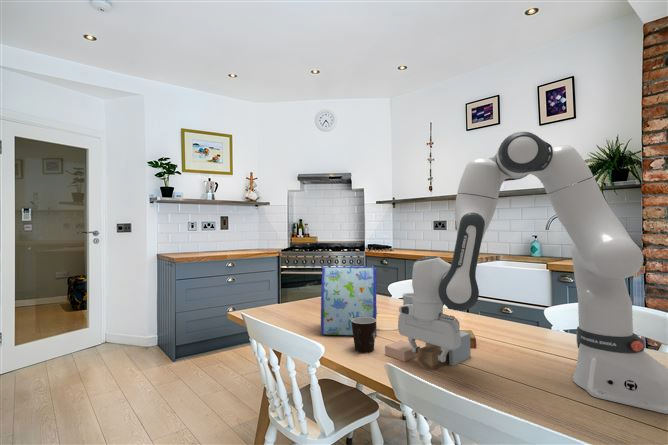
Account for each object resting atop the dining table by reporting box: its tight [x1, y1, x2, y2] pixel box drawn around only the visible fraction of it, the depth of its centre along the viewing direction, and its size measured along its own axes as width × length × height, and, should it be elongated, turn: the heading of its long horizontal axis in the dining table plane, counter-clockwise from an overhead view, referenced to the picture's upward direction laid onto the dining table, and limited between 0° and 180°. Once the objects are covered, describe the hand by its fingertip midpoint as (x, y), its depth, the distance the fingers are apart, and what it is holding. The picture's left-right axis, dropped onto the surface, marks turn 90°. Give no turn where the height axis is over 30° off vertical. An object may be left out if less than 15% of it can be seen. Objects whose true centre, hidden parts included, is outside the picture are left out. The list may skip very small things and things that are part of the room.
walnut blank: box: [417, 344, 449, 371], centre depth 109 cm, size 5×13×5 cm, turn 129°
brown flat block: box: [459, 329, 477, 349], centre depth 126 cm, size 8×16×4 cm, turn 78°
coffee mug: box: [351, 317, 377, 354], centre depth 120 cm, size 12×9×10 cm
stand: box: [384, 340, 421, 362], centre depth 115 cm, size 8×8×3 cm
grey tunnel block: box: [425, 331, 472, 367], centre depth 113 cm, size 9×10×8 cm
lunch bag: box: [320, 265, 378, 337], centre depth 143 cm, size 22×17×26 cm
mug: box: [402, 292, 414, 306], centre depth 162 cm, size 12×9×10 cm
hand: (428, 356), depth 106 cm, fingers open, 8 cm apart
